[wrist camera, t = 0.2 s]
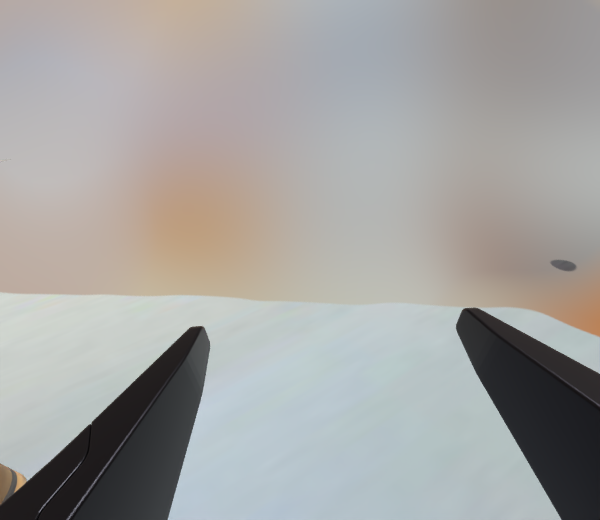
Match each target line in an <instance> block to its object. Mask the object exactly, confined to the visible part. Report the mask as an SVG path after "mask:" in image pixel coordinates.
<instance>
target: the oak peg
mask: <svg viewBox="0 0 600 520" xmlns="http://www.w3.org/2000/svg"><path fill="white" fill-rule="evenodd" d="M26 482H27V481H26V478H25V477H24V476H23V475H22V474H20V473H18V472H16V471H14V470H12V469H10V468H8V467H6V466H4V465H2V464H0V505H1V504H2V503H3V502H4V501H5V500H7V499H8V498H9V497H10V496H11V495H12V494H13V493H15V492H16V491H17V490H18V489H19V488H20V487H22V486H23V485H24V484H25V483H26Z"/></svg>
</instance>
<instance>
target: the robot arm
mask: <svg viewBox="0 0 600 520" xmlns="http://www.w3.org/2000/svg"><path fill="white" fill-rule="evenodd" d="M456 330H457V333H458V335H459V337H460V339H461V341H462V344H463V346H464V348H465V350H466V352H467V354H468V357H469V359H470V361H471V363H472V365H473V367H474V369H475V371H476V373H477V375H478V377H479V379H480V381H481V382H482V384H483V386H484V387H485V389H486V391H487V393H488V394H489V396H490V398H491V399H492V401H493V403H494V405H495V406H496V408H497V410H498V411H499V413H500V415H501V417H502V418H503V420H504V422H505V423H506V425H507V427H508V429H509V430H510V432H511V434H512V435H513V437H514V439H515V441H516V442H517V444H518V446H519V447H520V449H521V451H522V453H523V454H524V456H525V458H526V459H527V461H528V463H529V465H530V466H531V468H532V470H533V471H534V473H535V475H536V477H537V478H538V480H539V482H540V483H541V485H542V487H543V488H544V490H545V492H546V494H547V495H548V497H549V499H550V500H551V502H552V504H553V506H554V507H555V509H556V511H557V512H558V514H559V516H560V518H561V519H562V520H600V374H599V373H597V372H595V371H593V370H592V369H590V368H588V367H586V366H584V365H582V364H580V363H579V362H577V361H575V360H573V359H571V358H569V357H567V356H566V355H564V354H562V353H560V352H558V351H556V350H554V349H553V348H551V347H549V346H547V345H545V344H543V343H541V342H540V341H538V340H536V339H534V338H532V337H530V336H528V335H527V334H525V333H523V332H521V331H519V330H517V329H516V328H514V327H512V326H510V325H508V324H506V323H504V322H503V321H501V320H499V319H497V318H495V317H493V316H491V315H490V314H488V313H486V312H484V311H482V310H480V309H478V308H465V309H463V310H462V312H461V314H460V317H459V319H458V322H457V324H456ZM209 351H210V341H209V339H208V336H207V333H206V330H205V328H204V327H203V326H196V327H191V328H189V329H188V330H187V331H186V332H185V333H184V334H183V335H182V336H181V337H180V338H179V339H178V340H177V341H176V342H175V343H174V344H173V345H171V346H170V347H169V348H168V349H167V350H166V351H165V352H164V353H163V354H162V355H161V356H160V357H159V358H158V359H157V360H156V361H155V362H154V363H153V364H152V365H151V366H150V367H149V368H148V369H147V370H145V371H144V372H143V373H142V374H141V375H140V376H139V377H138V378H137V379H136V380H135V381H134V382H133V383H132V384H131V385H130V386H129V387H128V388H127V389H126V390H125V391H124V392H123V393H122V394H121V395H119V396H118V397H117V398H116V399H115V400H114V401H113V402H112V403H111V404H110V405H109V406H108V407H107V408H106V409H105V410H104V411H103V412H102V413H101V414H100V415H99V416H98V417H97V418H96V419H95V420H94V421H93V422H92V425H91V424H90V425H88V426H87V427H86V428H85V429H84V430H83V431H82V432H81V433H80V434H79V435H78V436H77V437H76V438H75V439H74V440H72V441H71V442H70V443H69V444H68V445H67V446H66V447H65V448H64V449H63V450H62V451H61V452H60V453H59V454H57V455H56V456H55V457H54V458H53V459H52V460H51V461H50V462H49V463H48V464H47V465H45V466H44V467H43V468H42V469H41V470H40V471H39V472H37V473H36V474H35V475H34V476H33V477H32V478H31V479H30V480H28V481H27V482H26V483H25V484H24V485H23V486H22V487H20V488H19V489H18V490H17V491H16V492H15V493H13V494H12V495H11V496H10V497H9V498H8V499H7V500H5V501H4V502H3V503H2V504H1V505H0V520H168V516H169V512H170V509H171V505H172V501H173V498H174V494H175V491H176V487H177V483H178V480H179V476H180V473H181V469H182V465H183V462H184V458H185V455H186V451H187V447H188V444H189V440H190V436H191V433H192V429H193V426H194V422H195V418H196V415H197V411H198V408H199V404H200V400H201V396H202V392H203V387H204V381H205V375H206V369H207V363H208V357H209Z"/></svg>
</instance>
